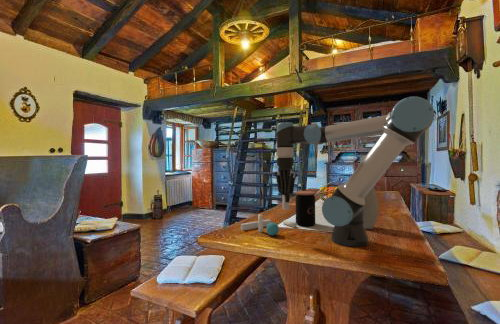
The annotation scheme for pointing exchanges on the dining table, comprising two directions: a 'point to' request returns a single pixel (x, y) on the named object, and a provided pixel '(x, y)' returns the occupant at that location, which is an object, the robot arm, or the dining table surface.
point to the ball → (272, 229)
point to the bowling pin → (370, 207)
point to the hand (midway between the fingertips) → (285, 209)
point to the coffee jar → (305, 208)
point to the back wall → (254, 224)
